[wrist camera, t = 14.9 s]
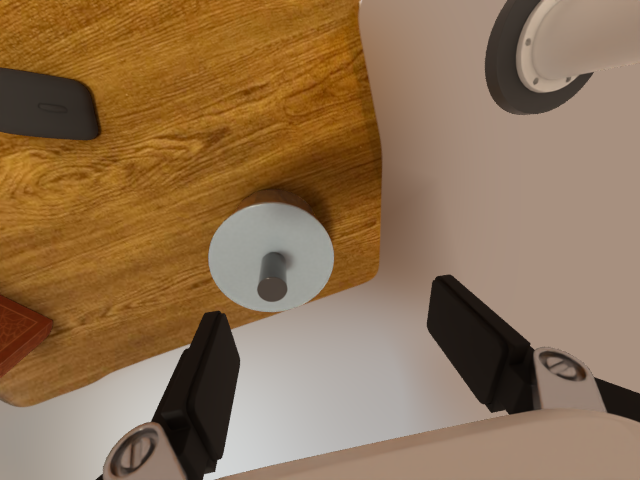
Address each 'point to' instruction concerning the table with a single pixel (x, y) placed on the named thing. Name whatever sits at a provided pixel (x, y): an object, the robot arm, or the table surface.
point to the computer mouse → (45, 106)
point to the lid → (271, 257)
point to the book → (19, 332)
